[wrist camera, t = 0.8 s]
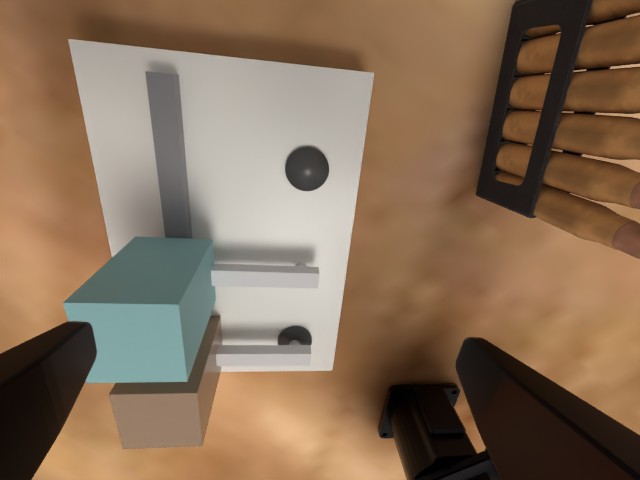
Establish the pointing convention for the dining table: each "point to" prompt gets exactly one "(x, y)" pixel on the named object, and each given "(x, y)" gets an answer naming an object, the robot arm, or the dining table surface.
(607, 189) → the ammunition clip
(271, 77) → the white base plate
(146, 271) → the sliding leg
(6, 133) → the dining table surface
